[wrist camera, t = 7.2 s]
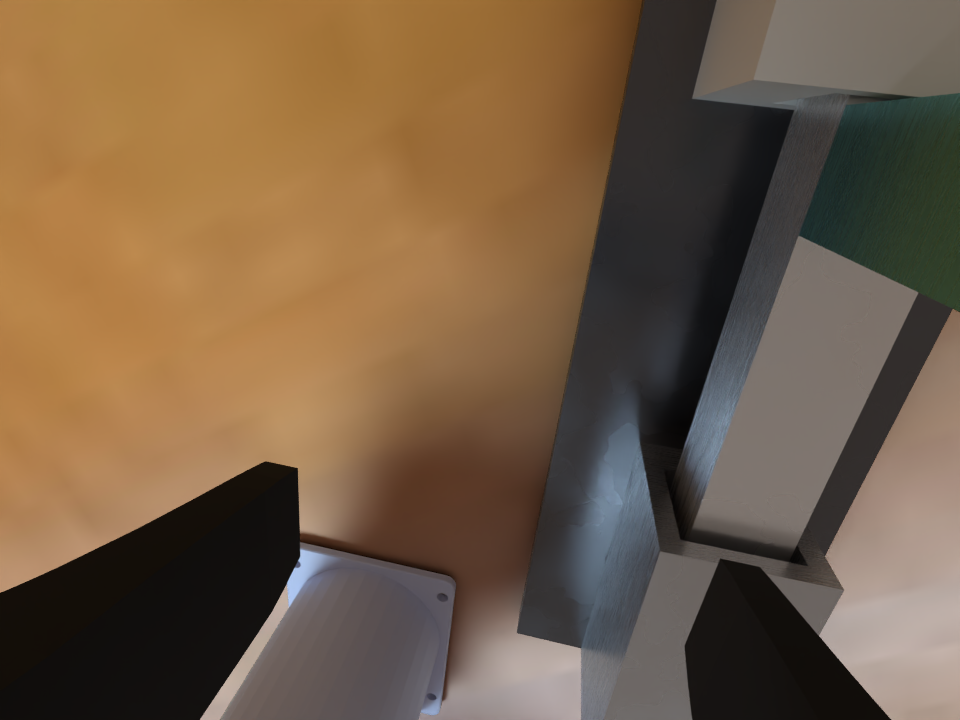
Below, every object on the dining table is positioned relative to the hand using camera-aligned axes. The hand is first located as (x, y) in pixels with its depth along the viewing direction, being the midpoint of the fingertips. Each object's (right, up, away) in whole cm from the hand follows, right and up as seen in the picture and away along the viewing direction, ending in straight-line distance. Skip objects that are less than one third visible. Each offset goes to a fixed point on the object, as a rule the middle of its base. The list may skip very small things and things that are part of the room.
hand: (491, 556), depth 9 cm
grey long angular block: (+8, +2, +9) cm, 12 cm away
